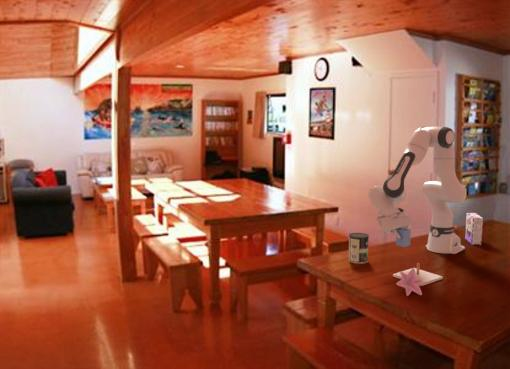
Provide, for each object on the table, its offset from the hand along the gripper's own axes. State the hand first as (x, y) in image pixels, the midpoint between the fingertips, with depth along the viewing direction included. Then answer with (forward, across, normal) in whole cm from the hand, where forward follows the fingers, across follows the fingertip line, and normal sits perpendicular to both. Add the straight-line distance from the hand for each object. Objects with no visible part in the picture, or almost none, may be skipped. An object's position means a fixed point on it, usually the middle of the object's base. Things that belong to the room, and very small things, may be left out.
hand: (404, 237), depth 242 cm
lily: (+27, -24, -4) cm, 37 cm away
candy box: (+7, +75, +18) cm, 77 cm away
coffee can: (-4, -8, +28) cm, 29 cm away
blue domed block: (+3, 0, +4) cm, 4 cm away
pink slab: (+20, -5, +3) cm, 21 cm away
